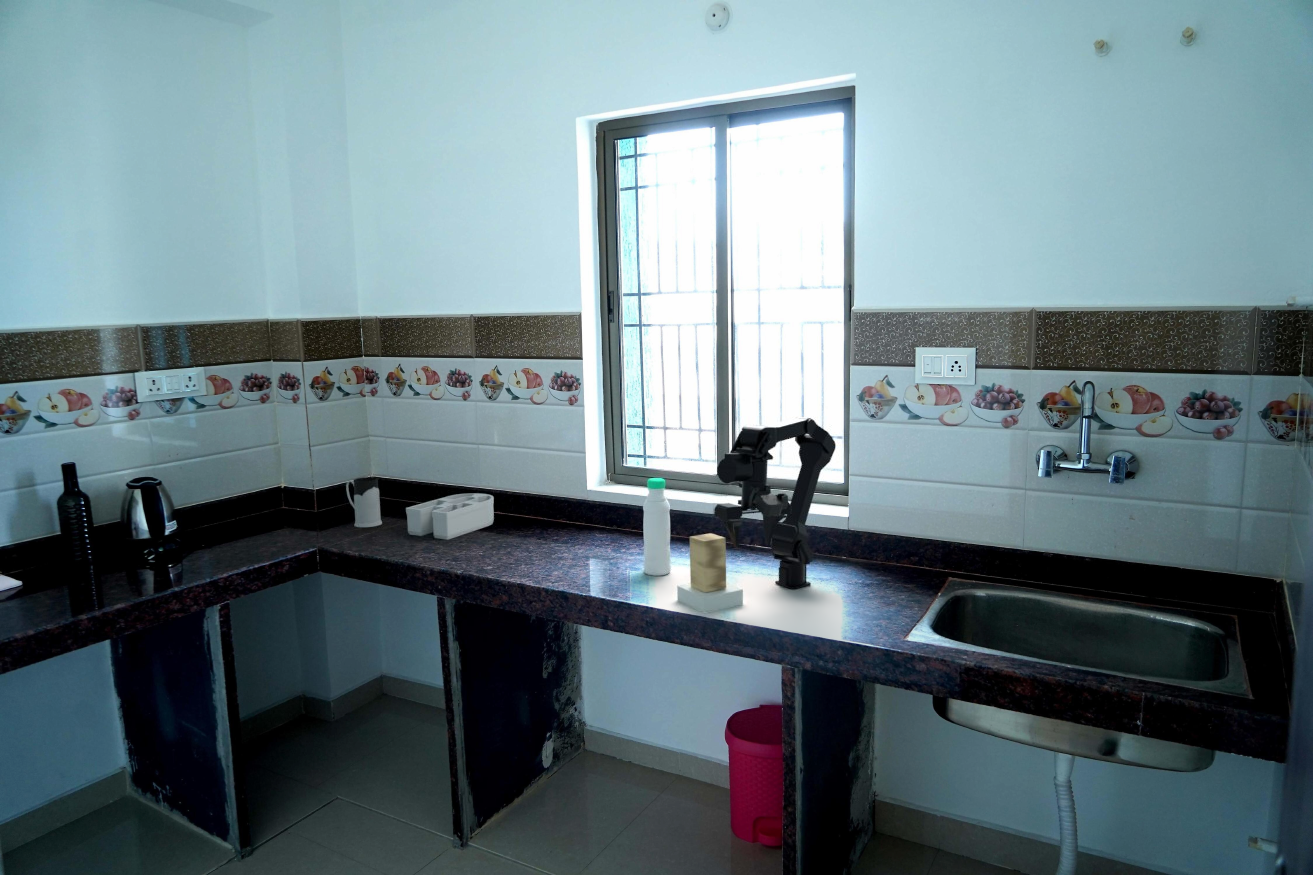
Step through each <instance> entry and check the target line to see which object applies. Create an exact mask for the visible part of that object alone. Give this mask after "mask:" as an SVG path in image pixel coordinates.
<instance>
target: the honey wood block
mask: <svg viewBox="0 0 1313 875" xmlns="http://www.w3.org/2000/svg"><path fill="white" fill-rule="evenodd" d="M726 539H727V538H726V537H724V536H720V535H717V534H715V533H705V534H697V535H694V536H693V535H692V536H689V569H690V572H689V573H690V575H689V576H690V583H691V587H693V588H695V589H698V590H700V591H703V592H710V591H715V590H720V589H725V588H726V583H727V554H726V552H727V551H726V550H727V549H726V547H727V544H726V543H727V542H726V541H727V540H726Z"/></svg>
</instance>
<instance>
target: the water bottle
mask: <svg viewBox="0 0 1313 875" xmlns="http://www.w3.org/2000/svg"><path fill="white" fill-rule="evenodd" d="M646 486H647V490H648V494H647V495H646V498H645V500H644V503H643V505H642V510H643V520H642V521H643V525H642V526H643V527H642V528H643V544H644V546H643V558H644V560H643V572H644V573H645V574H646V575H649V576H655V577H658V576H659V577H661V576H665V575H668V574H669V573H670V572H671V570H672V569H671V568H672V565H671V546H670V543H671V516H670V510H671V504H670V502H669V500H668V499H667V495H666V494H665V489H666V480H665V479H664V478H661V477H653V478H648V479H647V482H646Z"/></svg>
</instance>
